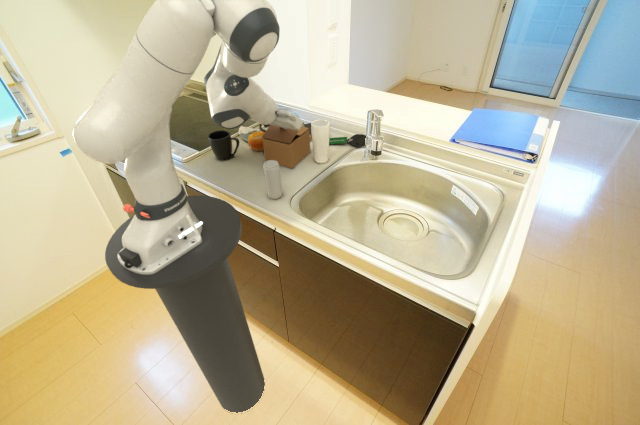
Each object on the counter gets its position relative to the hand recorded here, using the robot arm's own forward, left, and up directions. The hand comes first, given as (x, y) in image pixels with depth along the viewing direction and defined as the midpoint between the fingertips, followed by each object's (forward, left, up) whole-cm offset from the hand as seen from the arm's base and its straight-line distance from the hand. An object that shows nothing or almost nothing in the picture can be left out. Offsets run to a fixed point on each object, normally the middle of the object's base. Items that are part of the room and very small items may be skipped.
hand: (283, 126), depth 114 cm
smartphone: (+21, -4, -12) cm, 25 cm away
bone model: (+23, +4, -14) cm, 27 cm away
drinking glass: (+4, -13, -13) cm, 19 cm away
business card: (+18, -13, -12) cm, 25 cm away
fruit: (+2, +14, -13) cm, 19 cm away
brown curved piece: (+20, +26, -11) cm, 35 cm away
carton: (+1, 0, -13) cm, 13 cm away
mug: (-10, +21, -13) cm, 27 cm away
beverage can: (-23, -10, -13) cm, 28 cm away
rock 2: (+24, -20, -10) cm, 32 cm away
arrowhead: (+10, +25, -12) cm, 29 cm away
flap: (-2, 0, -2) cm, 3 cm away
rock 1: (+4, +24, -12) cm, 27 cm away
